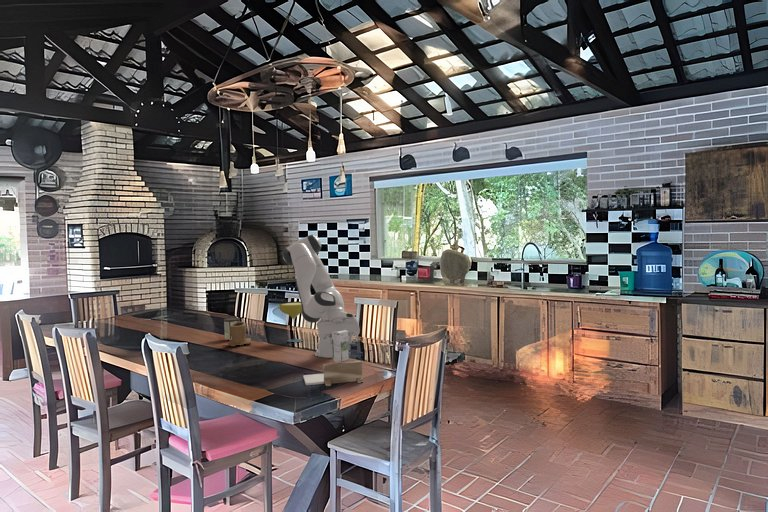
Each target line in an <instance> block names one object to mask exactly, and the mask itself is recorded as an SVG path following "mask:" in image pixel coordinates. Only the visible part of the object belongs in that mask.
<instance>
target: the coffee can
mask: <svg viewBox="0 0 768 512" xmlns="http://www.w3.org/2000/svg"><path fill="white" fill-rule="evenodd" d="M236 322H241V321H240V317H227V318H224V319H223V327H224V329H223V330H224V340H225V339H232V337H231V335H230V329H229V328H230V325H231V324H232V323H236Z"/></svg>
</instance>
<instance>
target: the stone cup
mask: <svg viewBox="0 0 768 512" xmlns="http://www.w3.org/2000/svg"><path fill="white" fill-rule="evenodd" d="M247 328H248V327H247V324H246V322H244V321H240V322H236V323H232V324H231V325H230V328H229V329H230V335H231V337H232V341H228V342H227V346H229V345H230V347H237V346H236V345H240V346H245V345H244V344H246V345H250V343H251V344H252V339H251V337H249V338H248V337H247V338H246V334H247Z"/></svg>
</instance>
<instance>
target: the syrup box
mask: <svg viewBox="0 0 768 512" xmlns="http://www.w3.org/2000/svg"><path fill="white" fill-rule="evenodd" d="M348 338H349V336H348V331H346V330H337V331H333V332H332V349H333V358H332V361H333V362H334V363H344V362H348V361H350V346H349V344H350V343H349V340H348Z"/></svg>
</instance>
